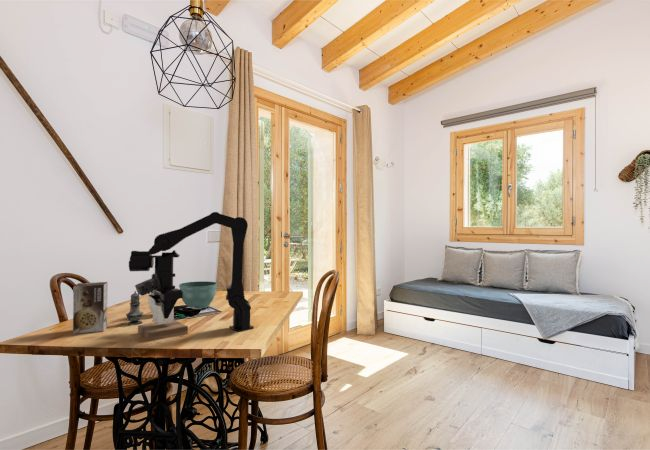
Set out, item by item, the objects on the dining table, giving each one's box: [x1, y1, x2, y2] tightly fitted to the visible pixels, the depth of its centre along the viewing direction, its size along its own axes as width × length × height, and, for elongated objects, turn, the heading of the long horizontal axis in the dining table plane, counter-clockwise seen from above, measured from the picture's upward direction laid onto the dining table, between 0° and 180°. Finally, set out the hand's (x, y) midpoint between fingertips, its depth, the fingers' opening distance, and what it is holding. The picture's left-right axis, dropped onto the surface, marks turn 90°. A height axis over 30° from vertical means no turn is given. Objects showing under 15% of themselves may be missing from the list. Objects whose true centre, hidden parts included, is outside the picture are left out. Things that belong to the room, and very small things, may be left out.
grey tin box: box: [152, 303, 175, 324], centre depth 120 cm, size 5×5×6 cm
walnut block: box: [137, 319, 189, 342], centre depth 120 cm, size 12×12×3 cm
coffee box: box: [72, 281, 108, 335], centre depth 123 cm, size 9×6×16 cm
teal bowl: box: [178, 280, 218, 309], centre depth 160 cm, size 16×16×11 cm
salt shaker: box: [125, 290, 144, 326], centre depth 133 cm, size 6×6×12 cm
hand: (163, 316), depth 120 cm, fingers closed on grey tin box, 5 cm apart
